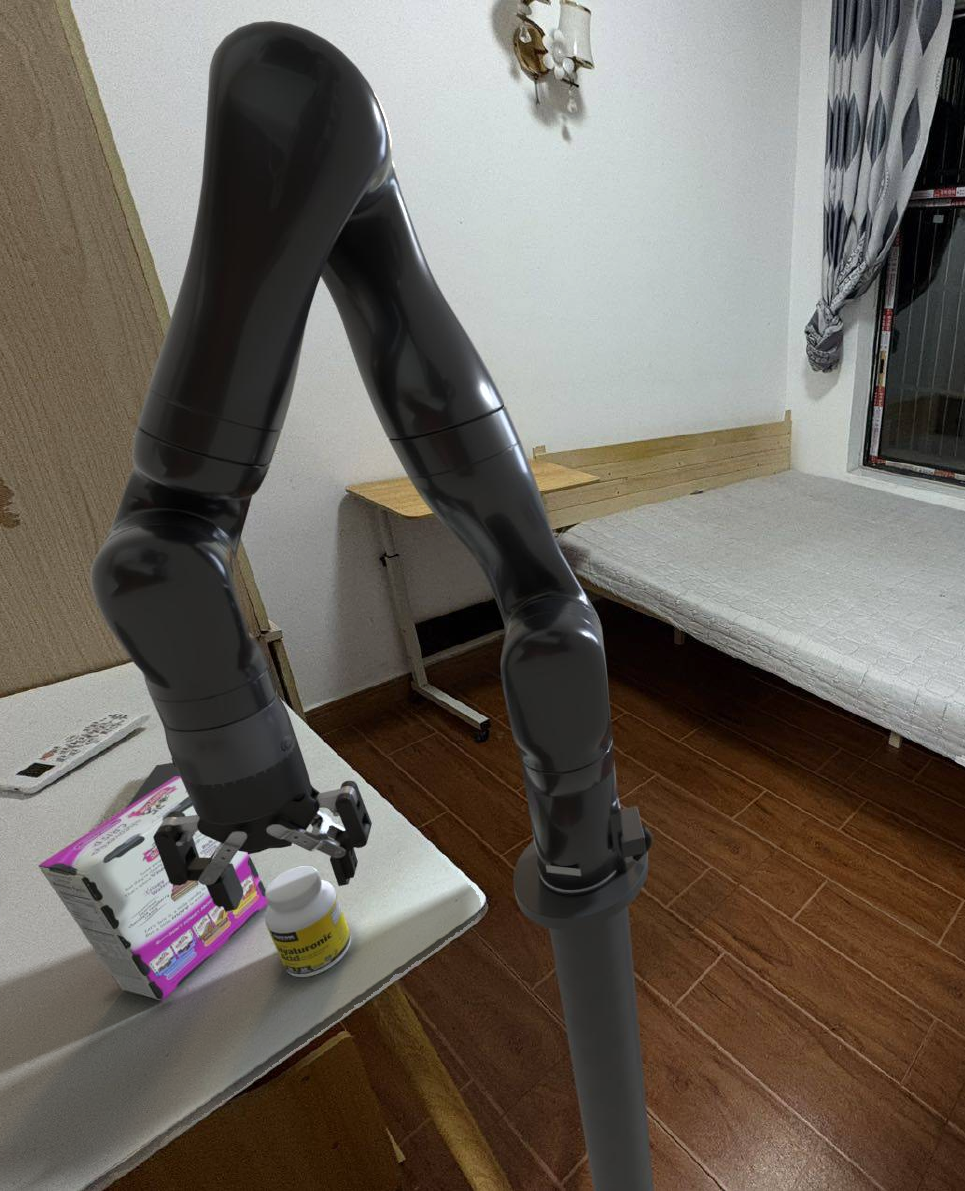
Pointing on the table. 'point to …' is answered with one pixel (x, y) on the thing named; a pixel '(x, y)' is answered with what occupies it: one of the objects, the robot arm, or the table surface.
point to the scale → (155, 780)
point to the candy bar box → (147, 897)
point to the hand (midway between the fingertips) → (291, 890)
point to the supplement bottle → (306, 921)
